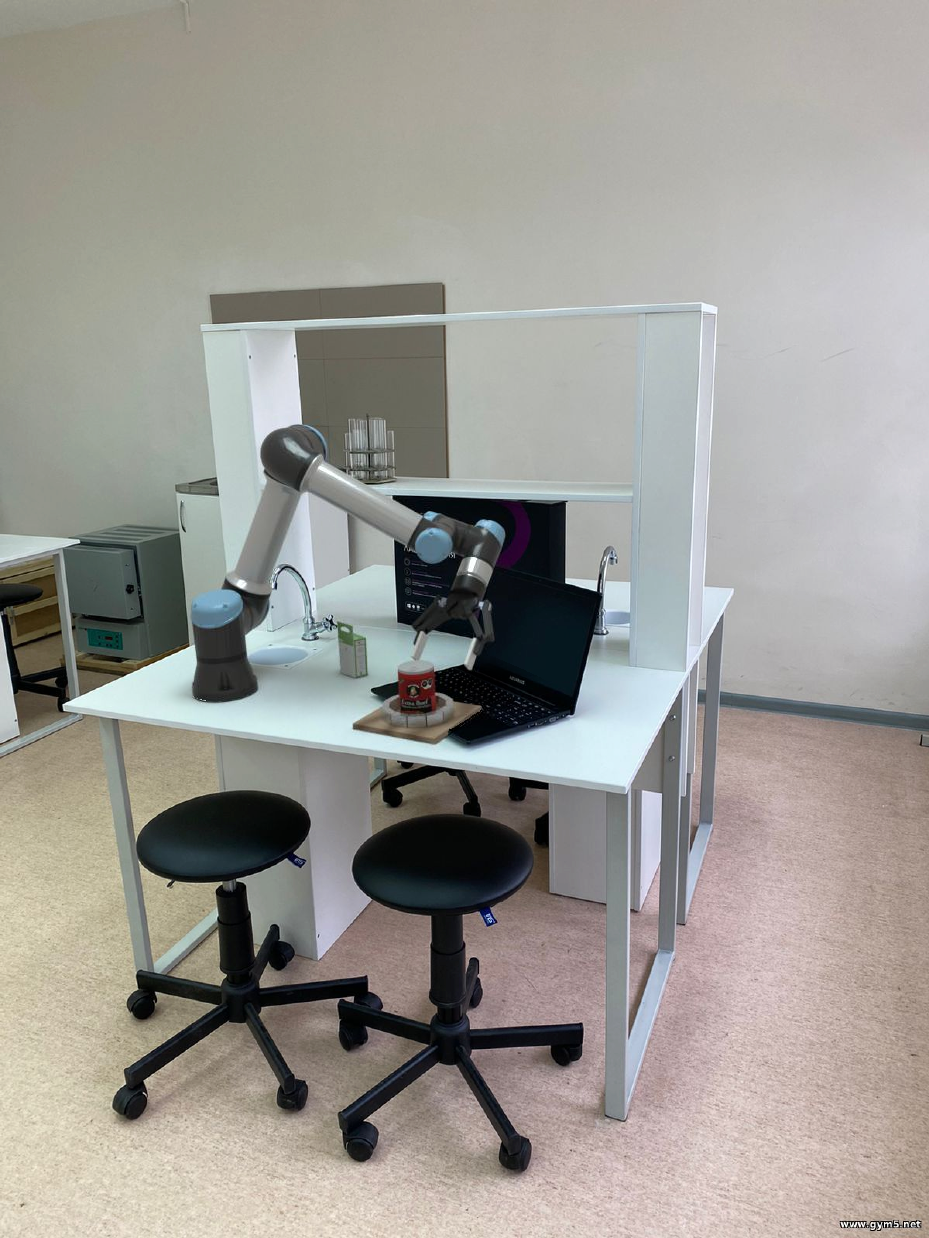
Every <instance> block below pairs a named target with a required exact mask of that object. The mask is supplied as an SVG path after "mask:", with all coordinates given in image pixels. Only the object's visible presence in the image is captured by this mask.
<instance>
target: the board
mask: <svg viewBox="0 0 929 1238" xmlns="http://www.w3.org/2000/svg"><path fill="white" fill-rule="evenodd" d="M439 709H441V708H440V707H438V706H436V711H437V710H439ZM481 709H483V708H482V705H476V704H470V703H465V702H460V701H459V702H458V701H453V717H452V718H451V719H449V720H448V721H446V722H445V723H443V724H439V725H435V726H431V727H426V728H403V727H398V726H392V725H390V724H388V723H387V722H385V721H384V720H383V719H382V706H380V707H378V708H377V709H375V710H374V711H372V712H371V713H368V714H366V715H365V716H363V717H361V718H360V719H358V720H356V721H355V722H353V723H352V729H353V730H356V731H363V732H368V733H373V734H378V735H384V736H389V737H395V738H399V739H405V740H410V741H415V742H420V743H426V744H431V745H436V744H437V743H439V742H440V741H442V740H443V739H444V738H446V737H447V736H449V735H448V731H449V729H452V728H454V727H455V726H457V725H459V724H460V723H462V722H464V721H465V720H467V719H469V718H470V717H471V716H472V715H474V714H476V713H477V712H480V710H481ZM395 712H399V713H400V708H398V709H397V710H395ZM480 713H481V712H480Z"/></svg>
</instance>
